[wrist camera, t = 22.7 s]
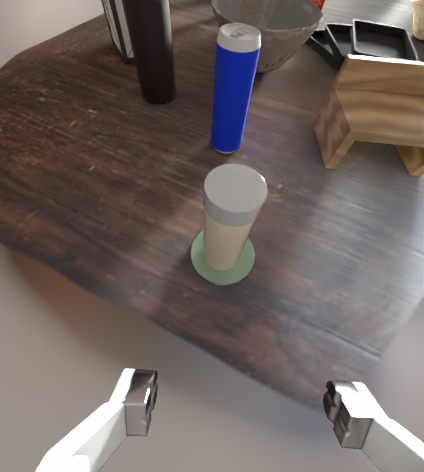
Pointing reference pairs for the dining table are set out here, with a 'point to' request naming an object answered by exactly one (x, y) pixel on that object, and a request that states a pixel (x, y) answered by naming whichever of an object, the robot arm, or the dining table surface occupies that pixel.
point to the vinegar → (152, 47)
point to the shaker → (230, 212)
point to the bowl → (418, 18)
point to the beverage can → (233, 83)
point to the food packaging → (318, 3)
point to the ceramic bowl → (272, 25)
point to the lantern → (118, 28)
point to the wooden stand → (374, 110)
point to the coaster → (222, 276)
